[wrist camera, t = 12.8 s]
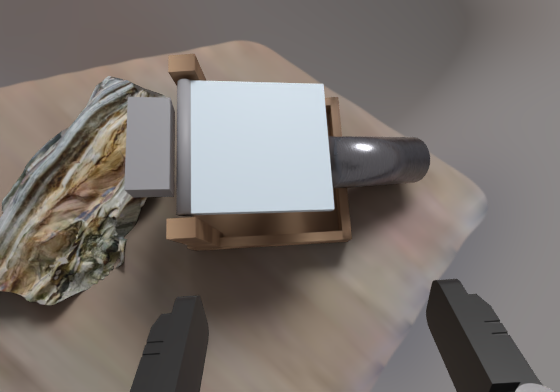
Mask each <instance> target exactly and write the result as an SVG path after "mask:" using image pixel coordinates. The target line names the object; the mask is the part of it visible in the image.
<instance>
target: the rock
mask: <svg viewBox="0 0 560 392" xmlns="http://www.w3.org/2000/svg"><path fill="white" fill-rule="evenodd" d="M128 97H162V98H166V97H165V96H164V95H162V94H159V93H156V92H153V91H150V90H147V89H144V88H142V87H140V86H138V85H135V84H133V83H131V82H129V81H127V80H123V79H120V78H115V77H111V76H108V77H107V78H105V79H104V80H103V82H101V83H99V84H98V85H97V86H96V88H95V90H94V91H93V93H92V95H91V97H90V100H89V102H88V104H87V106H86V108H85V109H84V110H83V111H82V112H81V113H80V114H79V116H78V118H77V119H76V120H75V121H74V122H73V124H72V125H71V126H70V127H69V128H67V129H65V130H63V131H61V132H60V133H59V134H57V135H56V136H55V137H54V138H52V139H51V140H49V141H48V142H47V143H46V144H45V145H44V146H43V147H42V148H41V149H40V150H39V151H38V152H37V153H36V154H35V155H34V156H33V157H32V159H31V160H30V161H29V162H28V164H27V165H26V167H25V169H24V171H23V173H22V175H21V176H20V178H19V179H18V180H17V182H16V183H15V184H14V185H13V187H12V188H11V191H10V192H9V193H8V195H7V196H6V197H5V198H4V199H3V201H2V211H3V215H2V216H1V218H0V291H3V292H13V293H16V294H19V295H21V296H22V297H24V298H25V299H26V300H27V301H29V302H35V301H36V302H37V303H39V304H44V305H54V304H56V303H58V302H60V301H62V300H64V299H66V298H68V297H70V296H72V295H74V294H76V293H79V292H81V291H83V290H88V289H89V288H90V287H91V286H92V285H93V284H97V283H98V280H100V279H104V278H105V276H107V275H108V274H109V271H110V270H112V269H113V268H114V266H113V265H114V264H115V262H116V261H117V259H118V258H119V259H120V263H119V264H118V266H120V265H121V264H122V263H124V246H125V244H126V240H127V239H124V236H125V235H126V234H127V233H128V232H129V231H130V230H131V229H132V228H133V227H134V226H135V225H136V222H137V219H138V216H139V213H140V211H141V207H142V206H143V205H144V203H145V201H146V199H147V197H132V196H131V195H130V194H128V193H127V192H126V191H125V190H124V184H125V158H126V132H127V106H128ZM118 266H117V267H118ZM117 267H116V268H117ZM116 268H115V269H116Z"/></svg>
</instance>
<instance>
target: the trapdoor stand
mask: <svg viewBox="0 0 560 392" xmlns="http://www.w3.org/2000/svg"><path fill="white" fill-rule="evenodd" d="M168 72H169V74H170V76H171V77H172V79H173V80H174V82H175V84H176V85H177V81H178V80H180V79H189V80H196V81H206V78H205V76H204V74H203V72H202V69H201V67H200V65H199V63H198V60H197V58H196V56H195V54H184V55H170V56H169V63H168ZM325 108H326V119H327V130H328V136H335V137H342V132H341V122H340V112H339V101H338V97H331V98H325ZM333 197H334V208H335V209H334V210H333V211H319V212H285V213H251V214H217V215H193V217H187V218H171V219H167V226H166V239H168V240H171V241H175V242H179V243H182V244H186V245H187V249H191V250H195V251H198V250H215V249H232V248H250V247H267V246H284V245H301V244H318V243H335V242H348V241H349V240H351V239H352V234H351V224H350V214H349V203H348V193H347V188H334V189H333Z"/></svg>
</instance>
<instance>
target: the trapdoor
mask: <svg viewBox="0 0 560 392" xmlns="http://www.w3.org/2000/svg"><path fill="white" fill-rule="evenodd" d="M174 141H175V111H174V108H173V105H172V101H171V98H162V97H128V106H127V132H126V158H125V184H124V190H125V191H126V192H127V193H128V194H130V195H131V196H132V197H174ZM334 209H335V208H334V197H333V186H332V175H331V164H330V152H329V141H328V130H327V119H326V108H325V96H324V85H323V84H305V83H268V82H232V81H196V80H189V79H180V80H178V81H177V215H179V216H191V215H217V214H251V213H285V212H319V211H333V210H334Z"/></svg>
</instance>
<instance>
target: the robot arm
mask: <svg viewBox="0 0 560 392" xmlns="http://www.w3.org/2000/svg"><path fill="white" fill-rule="evenodd" d="M426 317H427V322H428V326H429V329H430V331H431V334H432V336H433V338H434V340H435V343H436V345H437V347H438V350H439V352H440V354H441V356H442V359H443V361H444V363H445V365H446V368H447V370H448V373H449V375H450V377H451V379H452V381H453V384H454V386H455V388H456V391H457V392H555V391H553V390H551V389H549V388H548V387H545V386H543V385H542V384H541V382H540V381H539V379H538V378H537V377H536V375H535V374H534V372H533V370H532V369H531V367H530V366H529V364H528V363H527V361H526V360H525V358H524V357H523V355H522V354H521V352H520V350H519V349H518V347H517V346H516V344H515V343H514V341H513V340H512V338H511V336H510V335H508V333H507V330H506V329H505V327H504V326H503V324H502V323H500V320H499V318H498V316H497V315H496V313H495V312H494V310H493V309H492V307H491V306H490V305H489V304H488V303H487V302H485V301H484V300H483V299H482V298H481V297H479V296H478V295H477V294H468V293H467V292H466V290H465V289H464V287H463V285H462V284H461V282H460V281H459V280H458V279H448V280H434V281H433V282H432V286H431V290H430V295H429V300H428V304H427V309H426ZM208 336H209V330H208V323H207V319H206V315H205V312H204V308H203V305H202V301H201V298H200V296H199V295H198V296H183V297H177V298H176V300H175V303H174V306H173V310H172V313H168V314H161V315H160V317H159V318H158V319H157V321H156V322H155V323H154V324H153V326H152V327H151V330H150V333H149V336H148V339H147V344H146V345H145V348H144V351H143V356H142V357H141V360H140V363H139V366H138V369H137V372H136V375H135V378H134V381H133V384H132V387H131V390H130V392H200V386H201V380H202V375H203V369H204V363H205V357H206V351H207V345H208Z"/></svg>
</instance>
